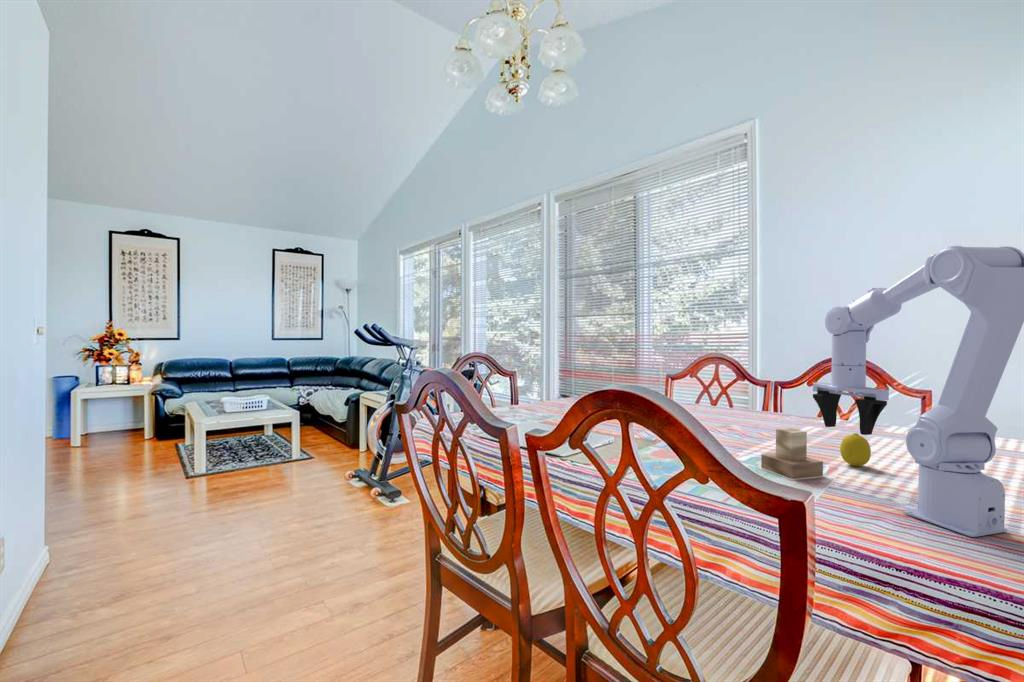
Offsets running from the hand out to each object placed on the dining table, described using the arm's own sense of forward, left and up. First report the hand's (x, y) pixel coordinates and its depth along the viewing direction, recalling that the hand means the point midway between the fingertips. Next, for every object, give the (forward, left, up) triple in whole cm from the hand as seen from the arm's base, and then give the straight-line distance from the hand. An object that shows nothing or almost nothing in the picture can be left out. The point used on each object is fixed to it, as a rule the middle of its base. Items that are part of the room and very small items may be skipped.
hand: (847, 430), depth 93 cm
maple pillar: (+6, +8, -7) cm, 12 cm away
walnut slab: (+6, +8, -10) cm, 14 cm away
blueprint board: (+5, +7, -10) cm, 13 cm away
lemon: (+6, -10, -11) cm, 16 cm away
